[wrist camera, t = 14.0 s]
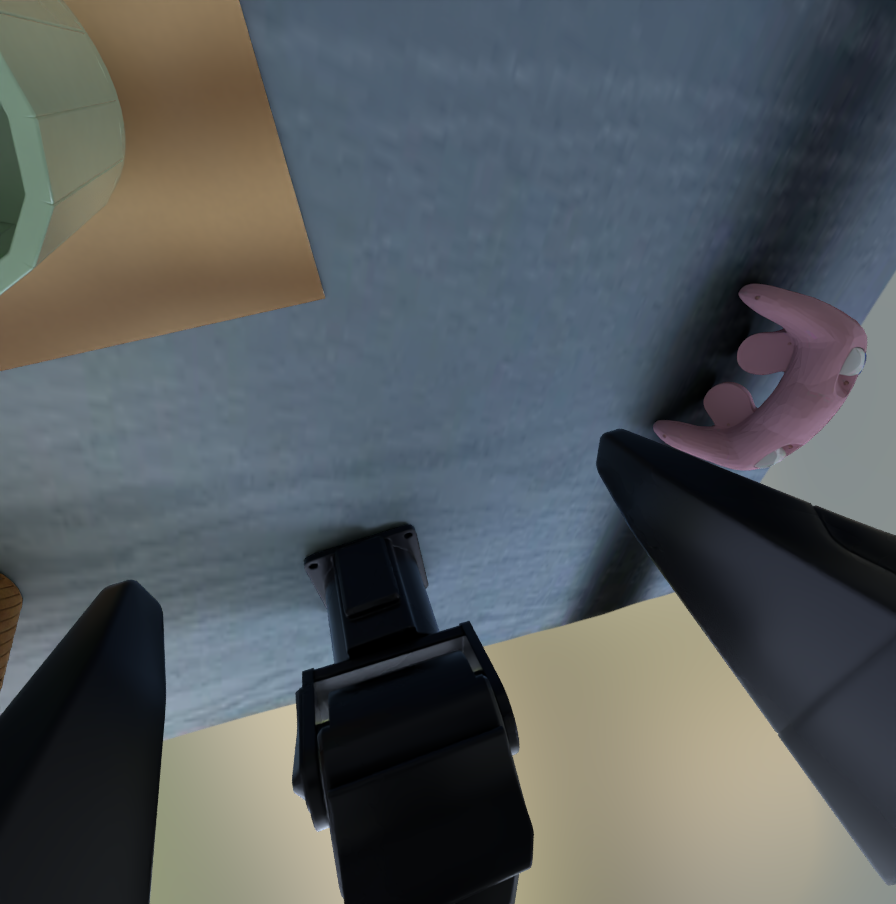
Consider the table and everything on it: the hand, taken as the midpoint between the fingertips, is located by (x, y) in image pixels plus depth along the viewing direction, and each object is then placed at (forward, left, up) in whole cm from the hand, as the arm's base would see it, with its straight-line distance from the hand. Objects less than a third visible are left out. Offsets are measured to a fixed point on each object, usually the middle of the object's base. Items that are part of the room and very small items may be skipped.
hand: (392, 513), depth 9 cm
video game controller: (-9, -21, -12) cm, 26 cm away
